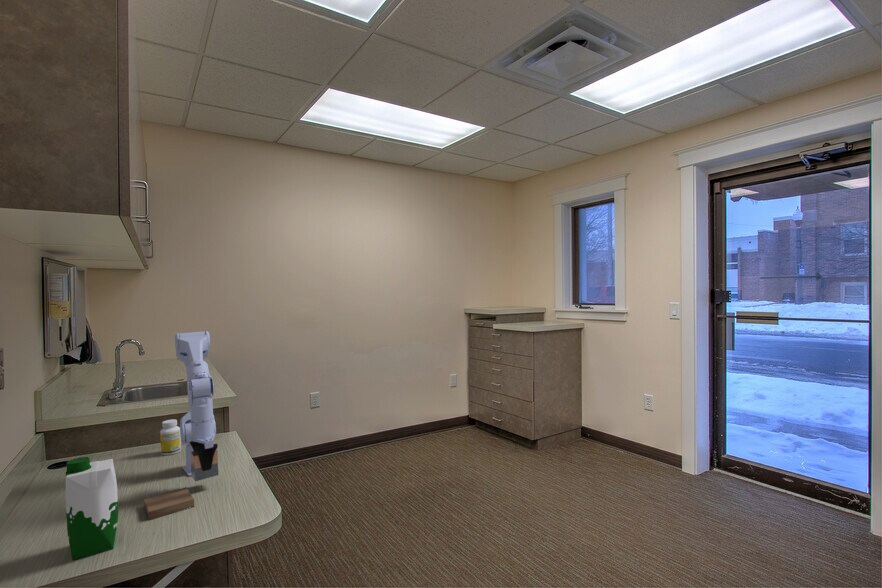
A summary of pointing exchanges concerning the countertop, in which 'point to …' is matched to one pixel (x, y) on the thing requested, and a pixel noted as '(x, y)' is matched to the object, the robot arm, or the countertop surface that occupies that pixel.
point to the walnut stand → (168, 503)
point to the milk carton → (91, 506)
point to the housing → (197, 469)
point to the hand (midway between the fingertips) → (204, 467)
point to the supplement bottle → (170, 437)
